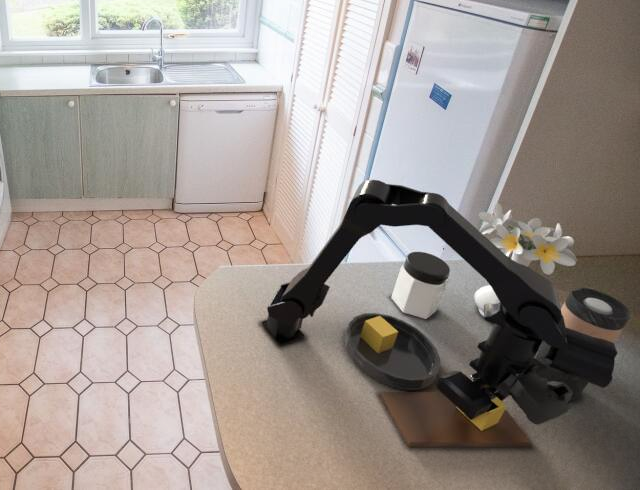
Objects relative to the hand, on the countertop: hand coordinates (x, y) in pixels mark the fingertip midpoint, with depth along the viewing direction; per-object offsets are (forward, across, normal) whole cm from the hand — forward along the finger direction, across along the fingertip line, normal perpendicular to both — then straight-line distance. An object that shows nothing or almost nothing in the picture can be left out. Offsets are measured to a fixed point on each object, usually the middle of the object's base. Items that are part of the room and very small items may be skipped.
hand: (477, 413), depth 78 cm
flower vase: (+2, +28, +16) cm, 32 cm away
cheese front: (0, 0, 0) cm, 0 cm away
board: (+2, -4, +1) cm, 4 cm away
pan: (+2, -3, +15) cm, 16 cm away
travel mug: (+2, +21, 0) cm, 21 cm away
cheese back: (+1, -3, +18) cm, 19 cm away
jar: (+2, +14, +24) cm, 28 cm away
